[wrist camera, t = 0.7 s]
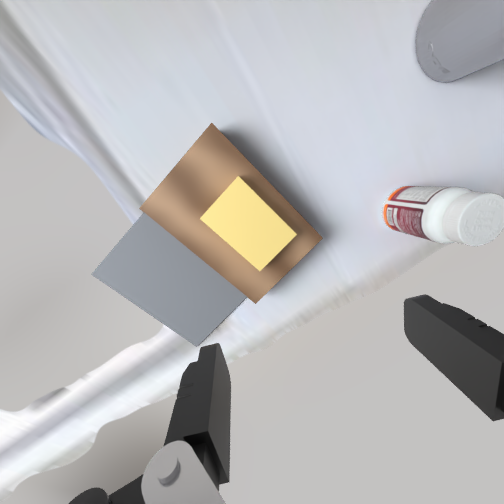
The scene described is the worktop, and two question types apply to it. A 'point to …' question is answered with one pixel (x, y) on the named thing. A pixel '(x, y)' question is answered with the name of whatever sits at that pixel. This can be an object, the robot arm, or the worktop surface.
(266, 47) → the worktop surface
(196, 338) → the mat
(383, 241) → the worktop surface
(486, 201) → the pill bottle
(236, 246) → the yellow rectangular block
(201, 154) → the brown wooden block
